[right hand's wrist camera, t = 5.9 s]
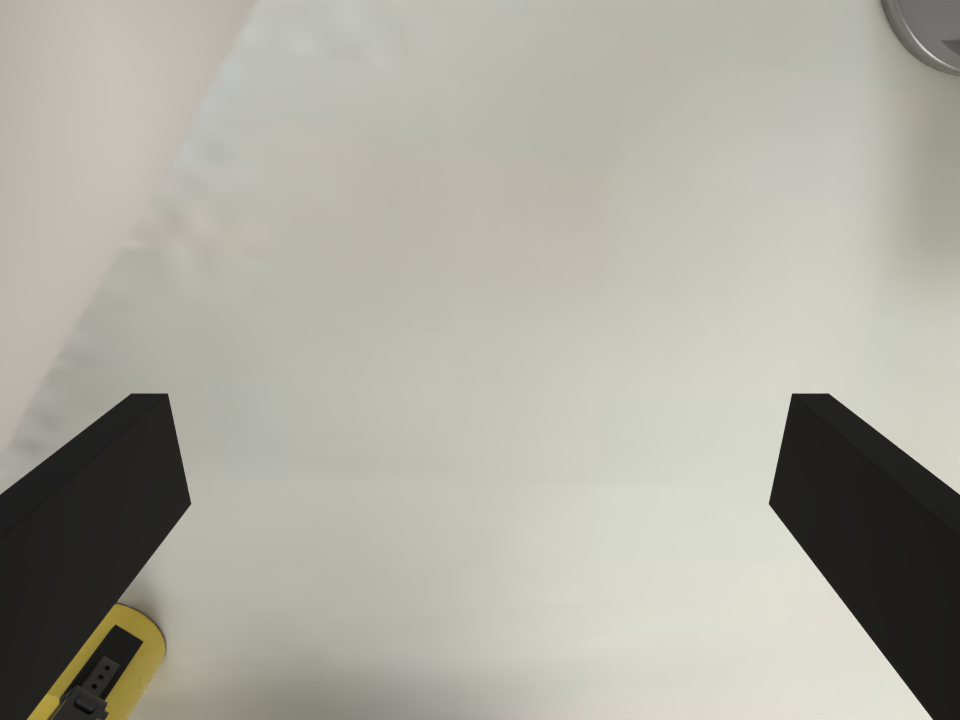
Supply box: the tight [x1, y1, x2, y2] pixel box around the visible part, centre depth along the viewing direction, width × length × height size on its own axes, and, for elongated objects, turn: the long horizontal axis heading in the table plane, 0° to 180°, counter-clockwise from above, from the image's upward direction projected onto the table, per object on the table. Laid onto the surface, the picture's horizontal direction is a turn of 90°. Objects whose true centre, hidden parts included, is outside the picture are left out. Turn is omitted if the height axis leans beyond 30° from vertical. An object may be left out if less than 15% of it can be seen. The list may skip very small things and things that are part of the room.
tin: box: [27, 604, 165, 720], centre depth 49 cm, size 9×9×9 cm
